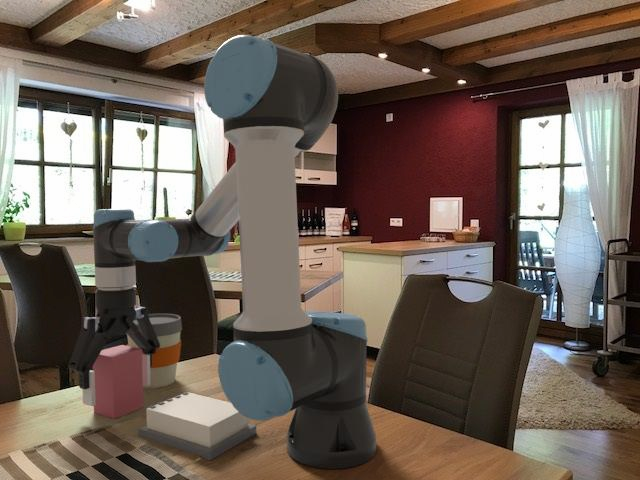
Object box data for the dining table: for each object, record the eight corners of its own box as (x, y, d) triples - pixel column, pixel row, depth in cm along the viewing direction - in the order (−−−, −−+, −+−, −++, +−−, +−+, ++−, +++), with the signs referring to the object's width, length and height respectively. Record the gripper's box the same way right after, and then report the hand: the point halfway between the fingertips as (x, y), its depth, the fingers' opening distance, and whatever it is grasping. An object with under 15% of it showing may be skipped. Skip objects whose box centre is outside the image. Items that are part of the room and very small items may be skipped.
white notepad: (256, 433, 97) (256, 405, 97) (210, 460, 87) (209, 428, 86) (187, 414, 106) (187, 388, 106) (138, 436, 96) (138, 408, 95)
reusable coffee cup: (194, 380, 127) (193, 317, 126) (151, 395, 116) (149, 327, 115) (158, 371, 134) (157, 311, 133) (114, 385, 123) (113, 320, 122)
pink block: (143, 407, 109) (141, 348, 108) (113, 418, 103) (112, 357, 102) (123, 401, 112) (122, 344, 111) (93, 412, 106) (92, 352, 105)
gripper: (151, 278, 118) (153, 374, 120) (44, 294, 97) (48, 410, 99) (176, 281, 114) (177, 380, 116) (70, 298, 93) (73, 418, 95)
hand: (118, 394), depth 107 cm, fingers open, 12 cm apart
